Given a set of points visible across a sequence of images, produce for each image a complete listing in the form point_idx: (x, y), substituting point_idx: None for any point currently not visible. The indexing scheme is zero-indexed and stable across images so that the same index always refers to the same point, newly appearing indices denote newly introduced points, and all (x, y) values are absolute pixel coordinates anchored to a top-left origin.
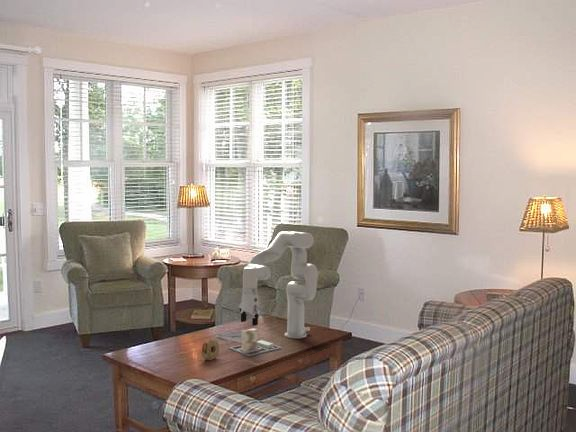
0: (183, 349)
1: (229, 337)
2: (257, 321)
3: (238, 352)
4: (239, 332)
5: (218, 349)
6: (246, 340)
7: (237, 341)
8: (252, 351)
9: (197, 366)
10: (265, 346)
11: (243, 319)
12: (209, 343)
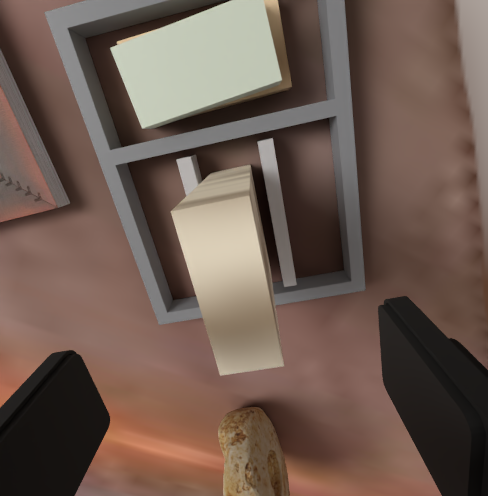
0: None
1: None
2: (483, 366)
3: None
4: None
5: (255, 431)
6: (273, 296)
7: (22, 215)
8: (286, 222)
9: (320, 484)
10: (258, 90)
11: (80, 427)
12: None
